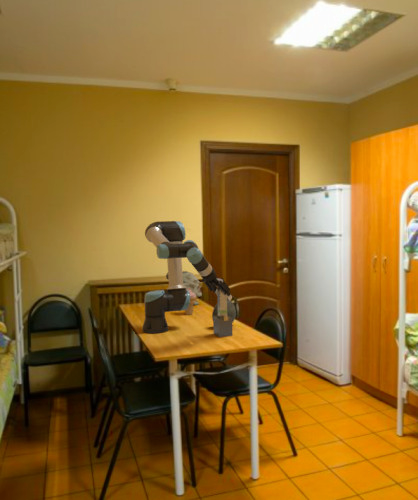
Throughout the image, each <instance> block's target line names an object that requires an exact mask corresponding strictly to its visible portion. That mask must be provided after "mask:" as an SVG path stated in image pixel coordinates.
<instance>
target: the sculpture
mask: <svg viewBox="0 0 418 500" xmlns="http://www.w3.org/2000/svg"><path fill="white" fill-rule="evenodd" d="M182 274H183V285H184V286H185V287H186V290H187V289H191V292H193V293H195V294H196V297H197V298H199V297H202V295H203V293H202V291H201V288H202V285H200V283H201V282H200V281H199V279H198V277H197V276H196V275H195V274H193V272H189V271H187V270H182ZM165 279H166V280H169V278H168V272H167V273H166V274H165ZM197 298H196V299H195V300H196V302H195V303H194V306H198V305H199V304H200V303H199V301H198V300H197Z"/></svg>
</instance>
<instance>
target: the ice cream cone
mask: <svg viewBox="0 0 418 500" xmlns="http://www.w3.org/2000/svg"><path fill="white" fill-rule="evenodd" d="M187 291H189V293H190V303H189V307H188V308H187V309H186V310H184V313H185V315H186V316H191V315H193V313H194V306H195V305H194V303H195V302H196V301H197V298H198V296H197V297H196V294H195V293H193V292H191V289H187ZM195 299H196V300H195Z"/></svg>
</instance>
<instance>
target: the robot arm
mask: <svg viewBox="0 0 418 500" xmlns="http://www.w3.org/2000/svg"><path fill="white" fill-rule="evenodd" d="M144 236H145V238H146V239H147V241H148V242H149V243H152V244H153V246H154V247H155V248H156V255H157V258H158V259H161V260H162V259H163V260H167V273H168V278H169V279H168V287H167V288H166V291H165V290H164V289H156V290H155V289H154V290H150V291H148V292H146V293H145V294H144V301H143V302H144V322H143V324H142V332H143V333H146V334H162V333H165V332H167V331H169V325H168V322H167V319H166V313H168V312H181V311H185V310H186V309H187V308H188V307H189V303H190V293H189V291H187V290H186V287H185V286H184V285H183V274H182V272H183V262H182V261H183V260H182V258H183V259H184V258H187V260H188V262H189V263H190V264H191V265H192V267H193V268H194V269H195V270H196V272H197V273H198V274H199V276H200V277H201V281H202V282H203V283H204V284H205V286H206V287H207V288H208V289H209V291H210V292H212V293H214V294H215V295H216V296H217V286H218V287H219V288H220V289H221V290H222V291H223V292H224V294H225V296H226V297H227V300H229V301H231V300H232V298H233V296H232V294H231V292H230V291H231V287H229V285H228V284H227V283H226V282H225V280H224V278H223V277H221V278H219V277H218V276H217V272H216V270H215V269H214V268H213V267H212V265H211V264H210V261H208V260H207V259H206V257H205V256H204V254H203V253H202V251H201V250H200V249H199V245H197V243H196V242H195V241H194V240H191V239H187V240H186V229H185V225H184V224H183V222H181V221H177V220H170V221H169V220H168V221H167V220H166V221H159V220H158V221H154V222H151V223H150V224H148V226H147V227H146V228H145V231H144ZM184 240H185V241H184ZM183 241H184V242H183ZM231 302H232V301H231Z"/></svg>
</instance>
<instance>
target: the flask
mask: <svg viewBox="0 0 418 500" xmlns="http://www.w3.org/2000/svg"><path fill="white" fill-rule="evenodd" d="M227 315H228V316H230V317H232V324H233V323H234V321H235V319H236V315H237V312H236V305H234V304H233V302H232V301H229V300H228V299H227ZM213 316H218V302H217V303H216V304H215V306H214V307H213V310H212V314H211V318H212V320H213Z"/></svg>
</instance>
